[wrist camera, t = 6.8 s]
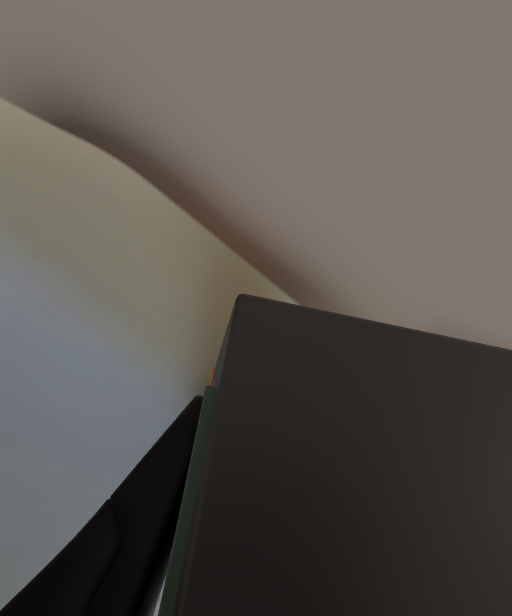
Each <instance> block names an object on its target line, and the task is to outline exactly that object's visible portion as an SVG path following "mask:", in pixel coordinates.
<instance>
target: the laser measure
mask: <svg viewBox="0 0 512 616" xmlns="http://www.w3.org/2000/svg"><path fill="white" fill-rule="evenodd" d="M158 616H512V350H509V349H504V348H500V347H495V346H490V345H486V344H481V343H476V342H471V341H466V340H461V339H457V338H452V337H447V336H443V335H437V334H433V333H428V332H423V331H418V330H414V329H409V328H404V327H399V326H394V325H390V324H385V323H381V322H376V321H371V320H366V319H361V318H357V317H352V316H347V315H343V314H338V313H333V312H328V311H323V310H319V309H314V308H309V307H304V306H300V305H295V304H290V303H285V302H281V301H276V300H271V299H266V298H262V297H257V296H252V295H247V294H239V295H238V296H237V298H236V301H235V304H234V307H233V310H232V314H231V317H230V320H229V323H228V327H227V330H226V333H225V336H224V340H223V343H222V346H221V350H220V353H219V356H218V359H217V363H216V366H215V369H213V371H212V375H211V380H210V384H209V386H206V387H205V392H204V397H203V402H202V407H201V412H200V416H199V421H198V426H197V431H196V436H195V440H194V445H193V450H192V455H191V460H190V464H189V469H188V474H187V479H186V484H185V488H184V493H183V498H182V503H181V508H180V513H179V517H178V522H177V527H176V532H175V537H174V541H173V546H172V551H171V556H170V561H169V565H168V570H167V575H166V580H165V585H164V589H163V594H162V599H161V604H160V609H159V614H158Z"/></svg>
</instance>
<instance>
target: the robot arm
mask: <svg viewBox="0 0 512 616" xmlns="http://www.w3.org/2000/svg"><path fill="white" fill-rule="evenodd" d="M202 402H203V396H195V397H194V398H193V399H192V401H191V402H190V403H189V404H188V405H187V407H186V408H185V409H184V410H183V411H182V412H181V414H180V415H179V416H178V417H177V418H176V420H175V421H174V422H173V423H172V424H171V425H170V427H169V428H168V429H167V430H166V431H165V432H164V434H163V435H162V436H161V437H160V438H159V440H158V441H157V442H156V443H155V444H154V445H153V447H152V448H151V449H150V450H149V451H148V453H147V454H146V455H145V456H144V457H143V458H142V460H141V461H140V462H139V463H138V464H137V465H136V467H135V468H134V469H133V470H132V471H131V473H130V474H129V475H128V476H127V477H126V478H125V480H124V481H123V482H122V483H121V484H120V486H119V487H118V488H117V489H116V490H115V491H114V493H113V494H112V495H111V497H110V499H108V500H107V501H106V502H105V503H104V504H103V505H102V506H101V508H100V509H99V510H98V511H97V512H96V514H95V515H94V516H93V517H92V518H91V519H90V520H89V521H88V523H87V524H86V525H85V526H84V527H83V528H82V529H81V530H80V531H79V533H78V534H77V535H76V536H75V537H74V538H73V539H72V540H71V541H70V542H69V543H68V544H67V545H66V546H65V547H64V548H63V549H62V550H61V551H60V552H59V553H58V554H57V555H56V556H55V557H54V559H53V560H52V561H51V562H50V563H49V564H48V565H47V566H46V567H45V568H44V569H43V570H41V571H40V572H39V573H38V574H37V575H36V576H35V577H34V578H33V579H32V580H31V581H30V582H29V583H28V584H27V585H26V586H25V587H24V588H23V589H22V590H21V591H20V592H19V593H18V594H17V595H16V596H15V597H14V598H13V599H12V600H11V601H10V602H9V603H8V604H7V605H5V606H4V607H3V608H2V609H1V610H0V616H153V614H154V611H155V608H156V604H157V601H158V598H159V595H160V592H161V589H162V585H163V582H164V579H165V576H166V573H167V569H168V565H169V561H170V556H171V551H172V546H173V541H174V537H175V532H176V527H177V522H178V517H179V513H180V508H181V503H182V498H183V493H184V488H185V484H186V479H187V474H188V469H189V464H190V460H191V455H192V450H193V445H194V440H195V436H196V431H197V426H198V421H199V416H200V412H201V407H202Z"/></svg>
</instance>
